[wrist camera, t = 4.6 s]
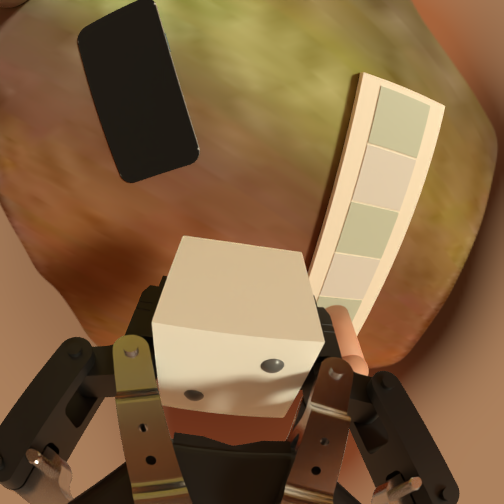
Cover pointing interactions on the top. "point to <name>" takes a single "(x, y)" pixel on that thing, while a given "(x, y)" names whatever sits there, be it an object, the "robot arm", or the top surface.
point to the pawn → (347, 339)
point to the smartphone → (138, 92)
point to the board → (373, 194)
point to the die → (235, 329)
